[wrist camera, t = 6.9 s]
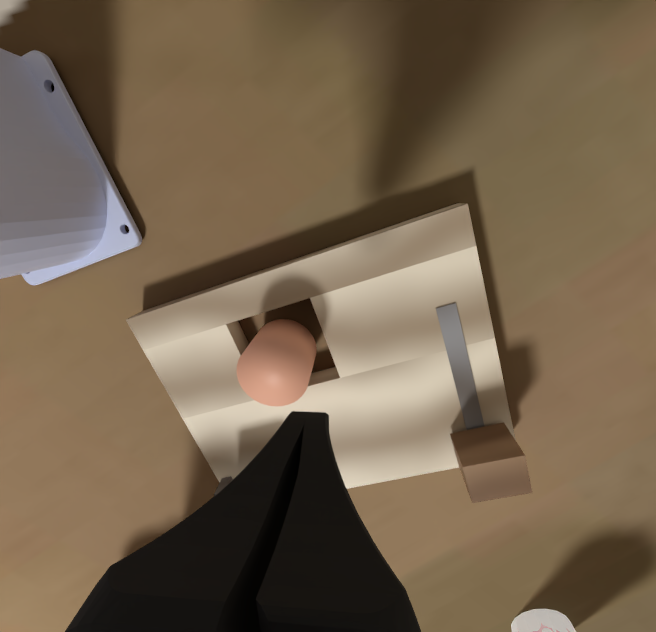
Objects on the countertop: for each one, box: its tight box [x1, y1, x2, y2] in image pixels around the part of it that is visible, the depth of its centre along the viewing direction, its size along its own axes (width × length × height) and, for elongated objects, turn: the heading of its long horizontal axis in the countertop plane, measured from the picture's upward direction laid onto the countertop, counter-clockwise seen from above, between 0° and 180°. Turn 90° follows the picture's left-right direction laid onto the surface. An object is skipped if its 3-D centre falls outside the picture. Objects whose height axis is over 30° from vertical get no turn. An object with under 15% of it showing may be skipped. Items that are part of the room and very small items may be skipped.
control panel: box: [126, 203, 516, 495], centre depth 19 cm, size 15×19×3 cm
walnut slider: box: [450, 422, 532, 503], centre depth 18 cm, size 2×3×2 cm
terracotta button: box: [236, 319, 317, 406], centre depth 17 cm, size 4×4×3 cm
